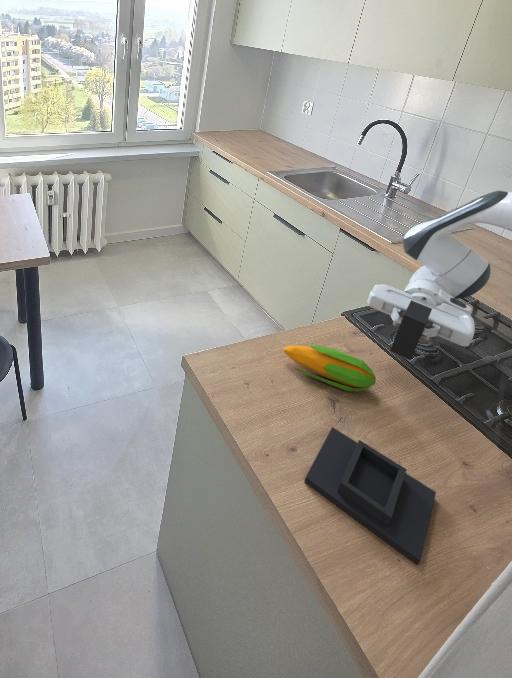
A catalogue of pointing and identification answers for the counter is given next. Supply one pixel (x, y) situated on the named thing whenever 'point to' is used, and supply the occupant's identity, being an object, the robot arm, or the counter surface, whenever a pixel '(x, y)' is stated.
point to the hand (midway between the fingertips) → (411, 330)
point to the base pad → (373, 492)
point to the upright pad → (410, 329)
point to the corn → (333, 366)
